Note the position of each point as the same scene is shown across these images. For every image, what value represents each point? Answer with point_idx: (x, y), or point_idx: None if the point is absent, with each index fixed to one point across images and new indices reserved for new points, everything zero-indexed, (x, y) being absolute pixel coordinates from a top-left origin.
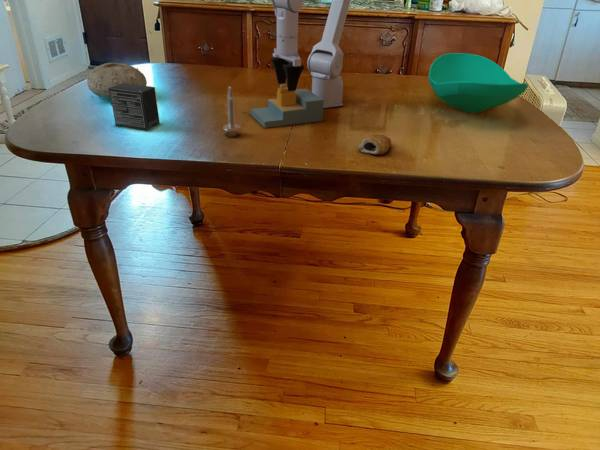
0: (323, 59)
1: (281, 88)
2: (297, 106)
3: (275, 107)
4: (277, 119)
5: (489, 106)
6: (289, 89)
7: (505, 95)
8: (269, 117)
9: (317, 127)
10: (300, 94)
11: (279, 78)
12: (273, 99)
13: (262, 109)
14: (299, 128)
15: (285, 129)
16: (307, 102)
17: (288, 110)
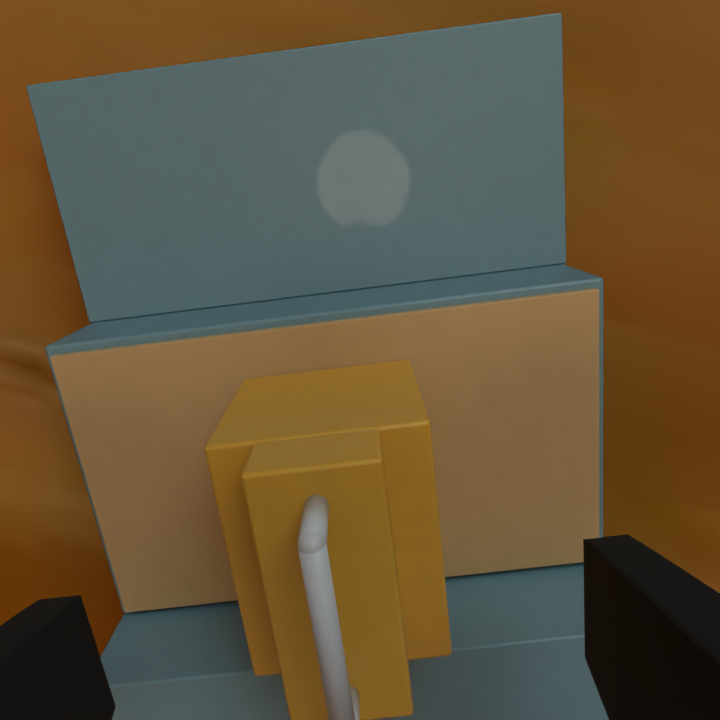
0: None
1: (302, 515)
2: (212, 558)
3: (308, 308)
4: (102, 264)
5: None
6: (12, 629)
7: None
8: (181, 187)
9: (53, 583)
10: None
11: (641, 637)
12: (565, 351)
13: (492, 173)
14: (37, 438)
15: (17, 307)
16: None
17: (71, 422)
